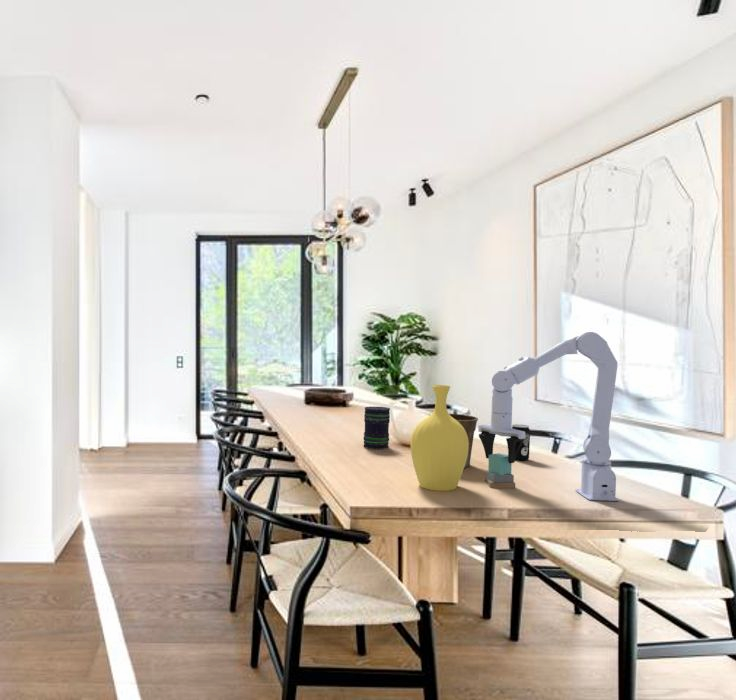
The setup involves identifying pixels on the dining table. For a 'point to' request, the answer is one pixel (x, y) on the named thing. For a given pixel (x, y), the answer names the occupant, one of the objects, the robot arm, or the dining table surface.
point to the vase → (439, 447)
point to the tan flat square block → (499, 484)
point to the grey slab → (499, 477)
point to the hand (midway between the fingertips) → (500, 460)
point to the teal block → (499, 464)
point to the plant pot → (467, 430)
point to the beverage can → (524, 448)
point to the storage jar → (376, 427)
